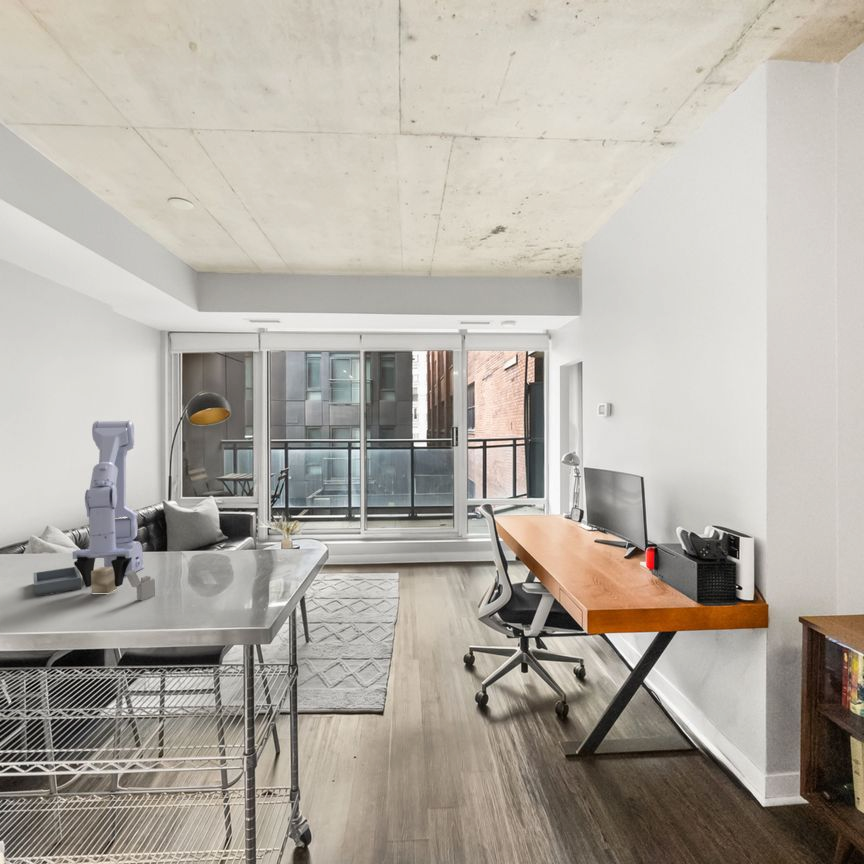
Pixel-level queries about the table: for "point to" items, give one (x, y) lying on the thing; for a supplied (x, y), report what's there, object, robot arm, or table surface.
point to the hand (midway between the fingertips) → (104, 585)
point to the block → (103, 580)
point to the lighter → (142, 585)
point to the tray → (56, 581)
